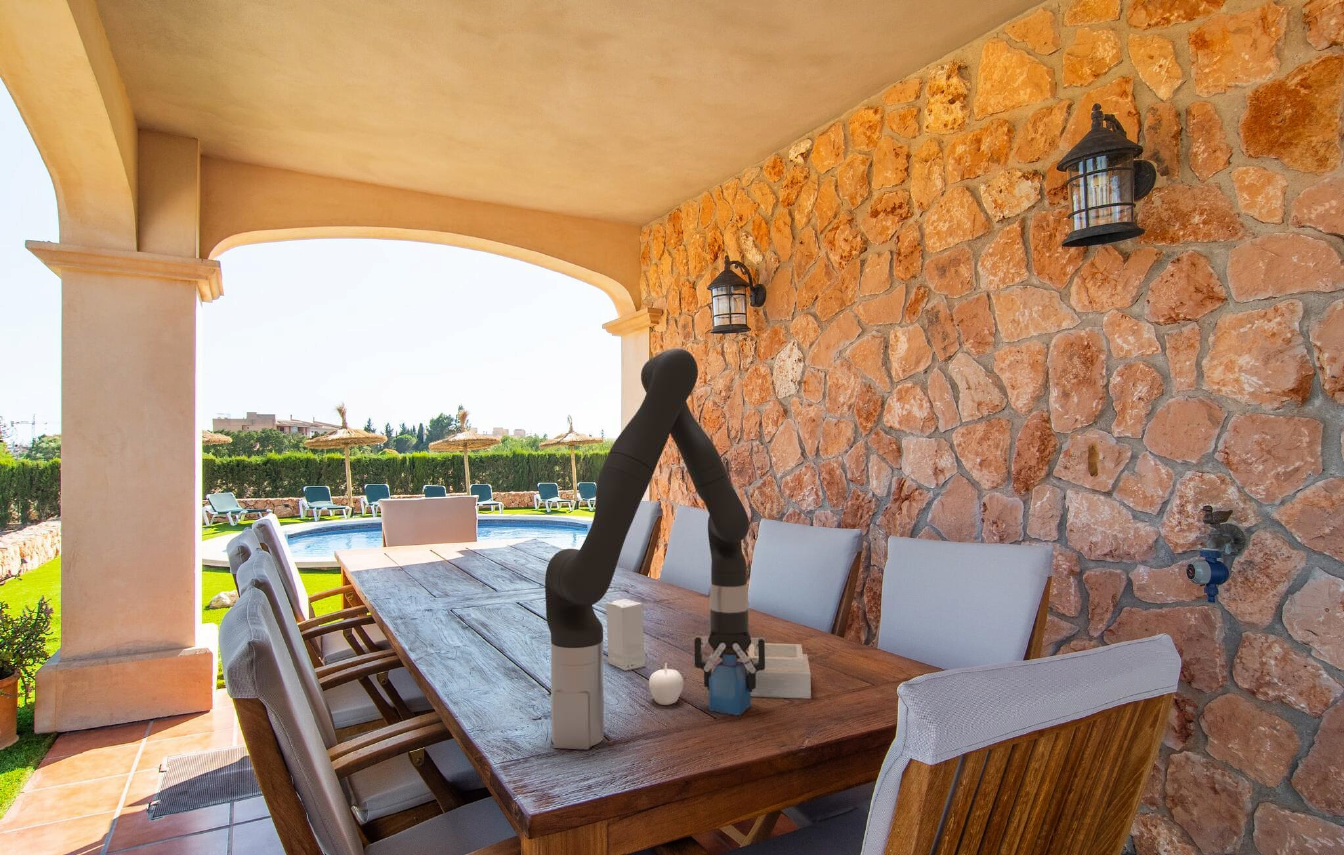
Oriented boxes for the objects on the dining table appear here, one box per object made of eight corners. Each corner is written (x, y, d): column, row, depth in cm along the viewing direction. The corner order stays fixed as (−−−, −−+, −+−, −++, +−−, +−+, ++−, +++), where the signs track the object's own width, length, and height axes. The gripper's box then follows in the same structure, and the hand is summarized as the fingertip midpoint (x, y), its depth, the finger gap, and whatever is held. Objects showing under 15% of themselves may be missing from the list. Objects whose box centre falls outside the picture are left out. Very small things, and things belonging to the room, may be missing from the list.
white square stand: (810, 698, 147) (810, 661, 147) (741, 696, 149) (741, 659, 149) (807, 676, 161) (806, 642, 161) (744, 674, 163) (743, 641, 163)
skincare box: (645, 667, 169) (645, 603, 169) (623, 672, 166) (622, 606, 166) (627, 658, 176) (627, 597, 176) (605, 663, 173) (605, 600, 173)
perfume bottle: (709, 710, 141) (708, 648, 142) (722, 700, 147) (721, 640, 147) (738, 715, 138) (738, 652, 139) (750, 705, 144) (750, 644, 144)
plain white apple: (646, 707, 143) (645, 666, 143) (652, 695, 150) (651, 656, 150) (681, 709, 142) (681, 668, 142) (685, 696, 149) (685, 657, 149)
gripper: (691, 610, 140) (692, 695, 140) (765, 611, 138) (766, 698, 138) (695, 601, 148) (696, 682, 147) (765, 603, 146) (766, 685, 145)
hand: (730, 689), depth 143 cm, fingers closed on perfume bottle, 7 cm apart
